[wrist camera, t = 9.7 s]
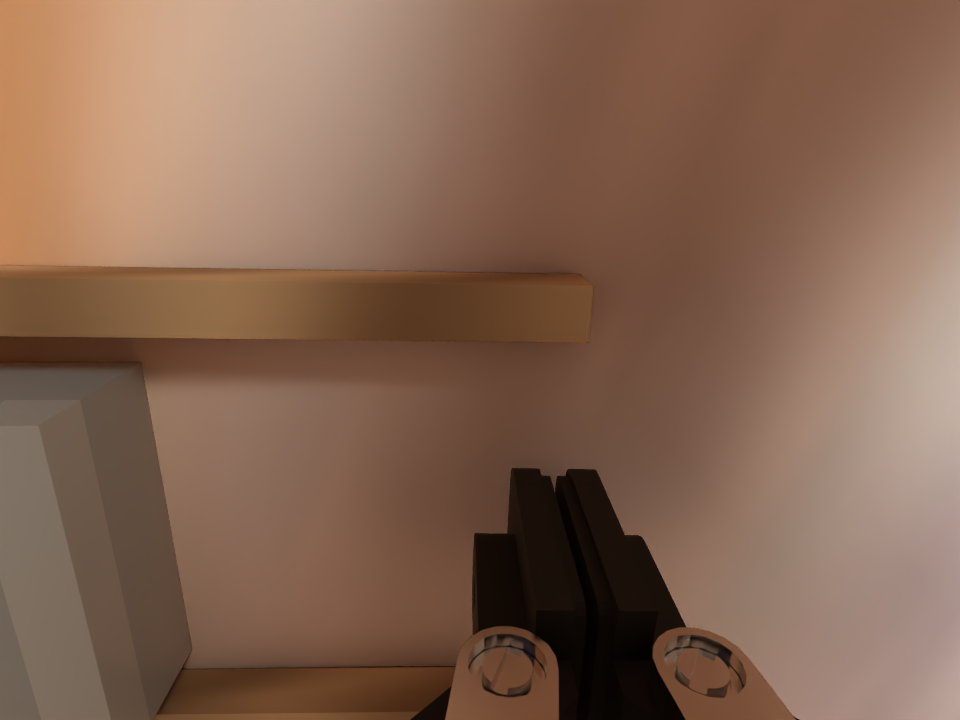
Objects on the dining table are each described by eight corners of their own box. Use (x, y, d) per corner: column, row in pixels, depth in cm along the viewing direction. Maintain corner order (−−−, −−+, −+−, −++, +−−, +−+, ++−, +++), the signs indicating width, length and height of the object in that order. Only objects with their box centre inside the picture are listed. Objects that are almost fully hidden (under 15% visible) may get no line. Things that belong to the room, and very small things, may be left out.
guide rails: (579, 273, 11) (593, 286, 10) (549, 698, 14) (556, 743, 13) (-393, 259, 11) (-496, 270, 9) (-197, 706, 14) (-257, 754, 13)
